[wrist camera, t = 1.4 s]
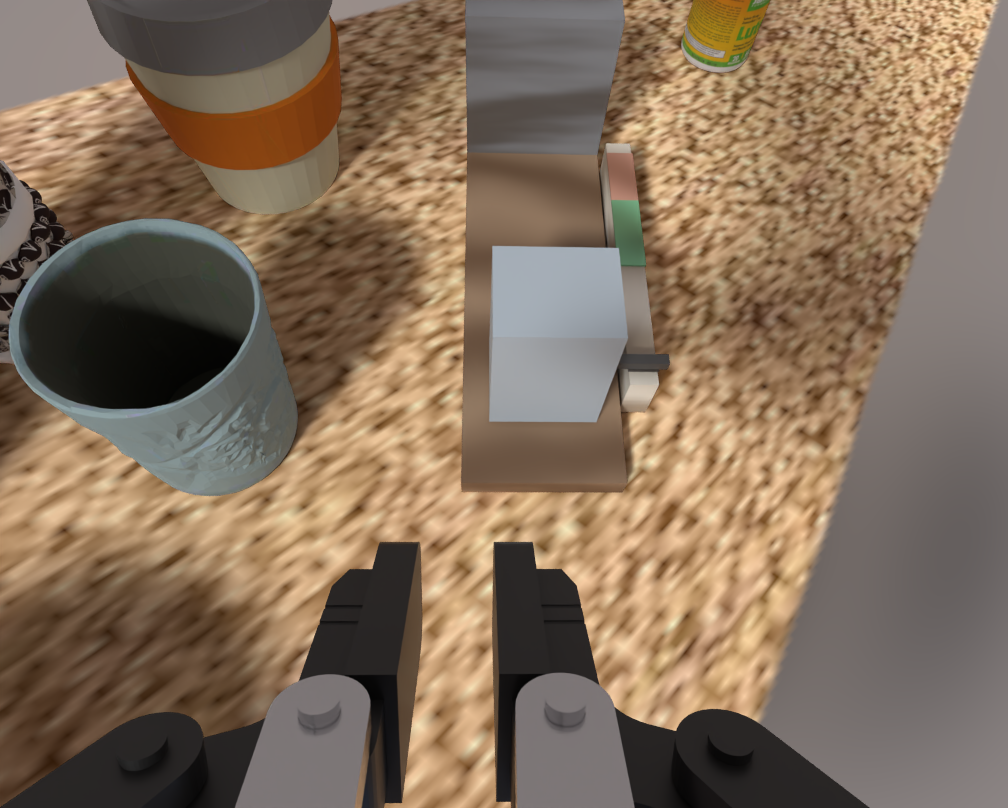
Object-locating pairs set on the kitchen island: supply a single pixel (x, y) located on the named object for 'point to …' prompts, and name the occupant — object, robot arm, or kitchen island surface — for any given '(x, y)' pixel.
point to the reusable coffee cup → (239, 90)
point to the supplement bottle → (722, 32)
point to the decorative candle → (22, 244)
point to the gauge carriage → (557, 333)
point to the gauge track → (547, 223)
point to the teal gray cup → (160, 352)
